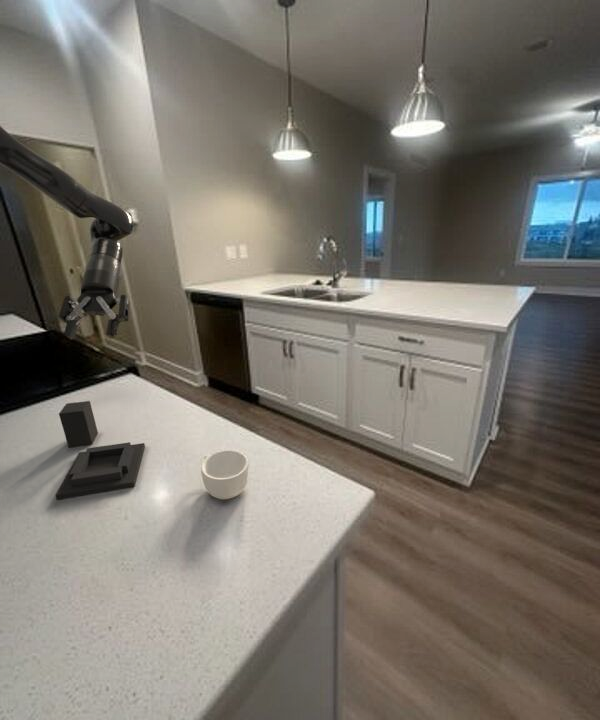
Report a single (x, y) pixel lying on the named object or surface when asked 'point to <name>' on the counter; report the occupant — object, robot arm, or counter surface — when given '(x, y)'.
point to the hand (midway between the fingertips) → (90, 337)
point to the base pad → (100, 466)
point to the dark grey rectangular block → (78, 423)
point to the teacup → (225, 473)
